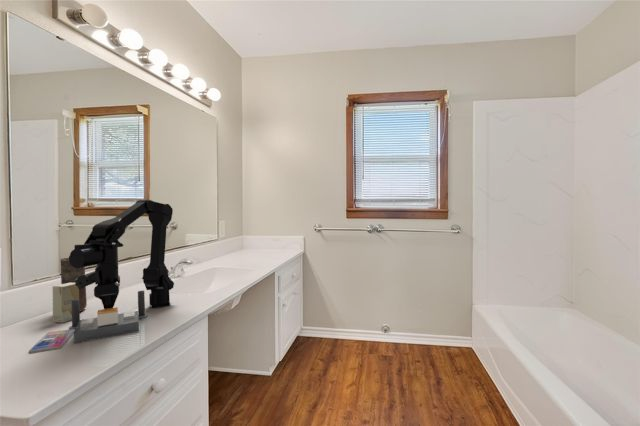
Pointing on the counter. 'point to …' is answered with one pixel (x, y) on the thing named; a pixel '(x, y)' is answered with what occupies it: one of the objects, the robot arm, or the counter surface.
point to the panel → (106, 327)
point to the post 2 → (141, 305)
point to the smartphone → (52, 341)
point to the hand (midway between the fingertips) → (108, 310)
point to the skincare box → (64, 301)
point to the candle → (70, 275)
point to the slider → (107, 316)
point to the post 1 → (75, 313)
